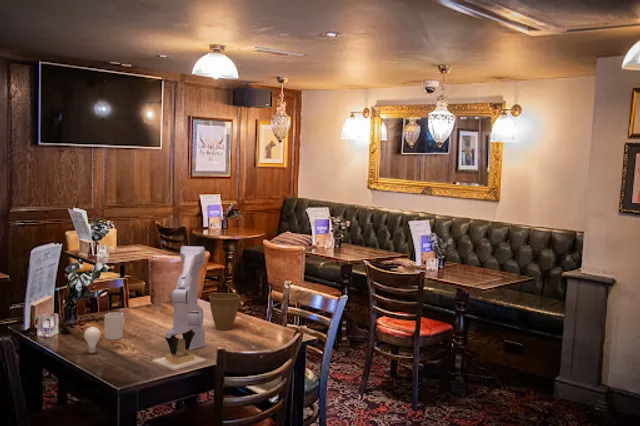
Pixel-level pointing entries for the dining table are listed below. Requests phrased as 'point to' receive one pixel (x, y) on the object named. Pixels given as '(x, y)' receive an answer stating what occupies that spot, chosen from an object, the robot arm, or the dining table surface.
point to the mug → (114, 325)
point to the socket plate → (179, 361)
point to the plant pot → (224, 309)
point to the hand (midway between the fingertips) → (179, 351)
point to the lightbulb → (92, 338)
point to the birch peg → (180, 348)
